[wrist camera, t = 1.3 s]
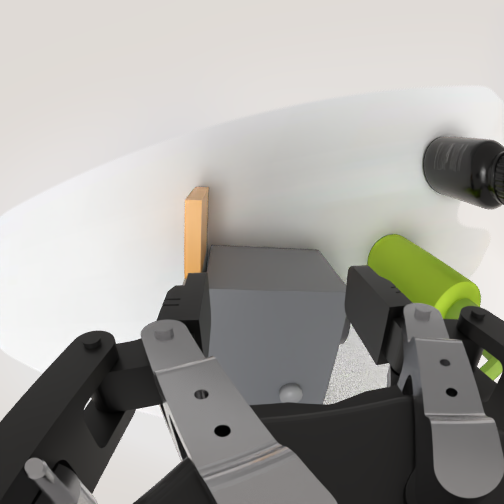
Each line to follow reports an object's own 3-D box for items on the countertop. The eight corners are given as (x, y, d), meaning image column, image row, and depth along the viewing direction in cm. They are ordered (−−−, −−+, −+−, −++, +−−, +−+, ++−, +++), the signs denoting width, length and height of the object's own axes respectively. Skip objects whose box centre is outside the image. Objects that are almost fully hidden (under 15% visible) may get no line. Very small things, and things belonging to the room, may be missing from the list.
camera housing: (312, 357, 37) (335, 420, 27) (209, 357, 36) (205, 424, 26) (332, 250, 33) (373, 296, 23) (211, 245, 32) (203, 293, 22)
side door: (206, 363, 36) (201, 422, 27) (196, 362, 36) (189, 421, 27) (209, 185, 29) (200, 204, 20) (196, 185, 29) (181, 203, 20)
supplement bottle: (436, 205, 32) (506, 234, 21) (412, 154, 30) (486, 166, 19) (471, 175, 31) (542, 194, 20) (450, 125, 29) (524, 129, 18)
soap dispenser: (351, 260, 33) (456, 378, 15) (399, 224, 32) (531, 306, 14) (373, 297, 35) (468, 415, 16) (418, 262, 34) (532, 355, 15)
